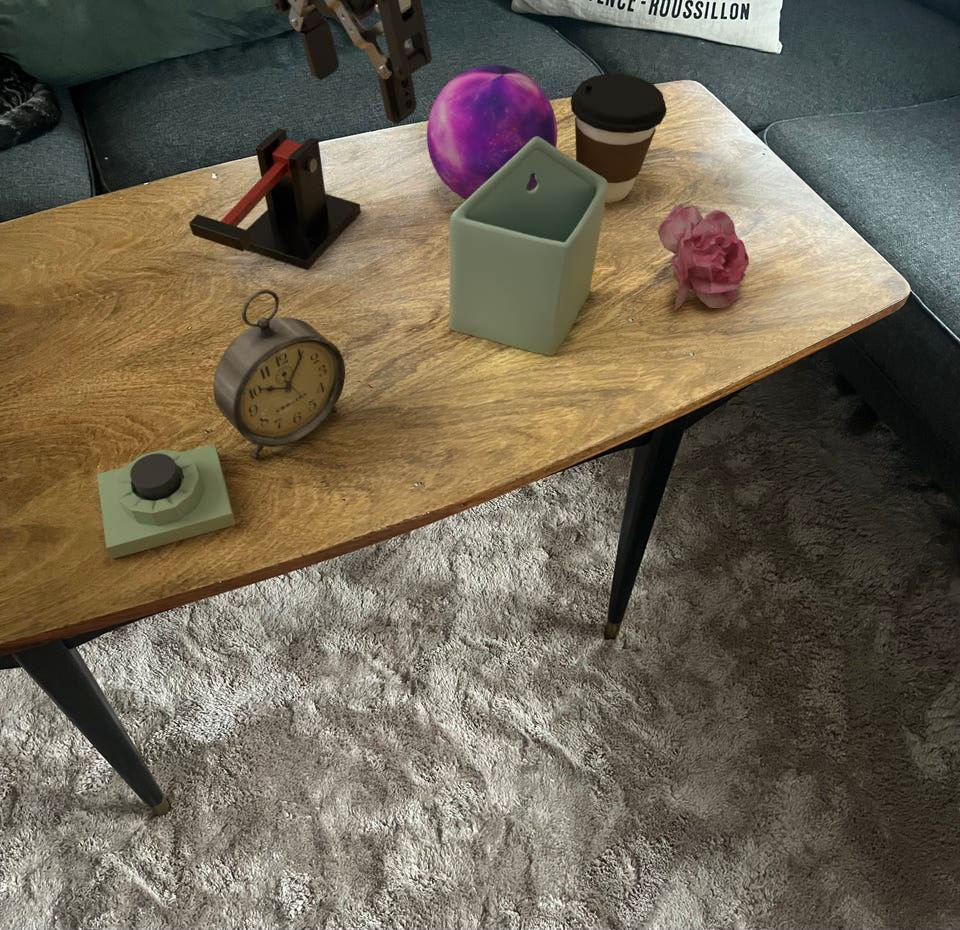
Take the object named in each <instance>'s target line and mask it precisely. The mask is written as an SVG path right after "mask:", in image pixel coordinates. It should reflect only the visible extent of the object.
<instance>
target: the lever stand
mask: <svg viewBox="0 0 960 930" xmlns="http://www.w3.org/2000/svg"><path fill="white" fill-rule="evenodd" d="M285 140H289V139H288V134H287V130H286V129H283V128H281V127H277V128H276V129H275V130H274V131H273V132H272V133H271V134H269V135H268V136H267V137H266V138H265V139H263V140H262V141H260V143H259V144H258V145H257V146H255V153H256V157H257V162H258V169H259V173H260V179H261V178H262V177H263V176H264V175H265V174H266V173H267V172H268V170H269V169H270V168H271V167H272V166H273V165H274V161H273V157H272V153H273V152H274V151H275V150H276V149H277V148H278V147H279V146H280V145H281V144H282V143H283V142H284V141H285ZM301 144H302V145H301V146H300V147H299V148H298V149H297V150H296V151H294V152H293V153H292V154H291V155H290V156H289V157H288V158H289V165H290V171H291V177H288V176H285V175H284V176H283V177H282V178H281V179H280V180H279V181H278V182H277V183H276V185H275V186H274V187H273V188H272V189H271V190H270V191H269V192H268V193H267V194H266V195H265V196H264V198H265V203H266V210H265V211H264V212H263V213H262V214H261V215H260V216H259V217H258V218H257V219H256V220H254V222H253V223H251V224H250V225H249V226H248V227H247V228H246V229H245V230H248V232H249V235H250V239H251V244H250V245H249V246H248V247H247V248H246V249H245V250H244V251H249V252H251V253H253V254H258V255H260V256H263V257H267V258H269V259H272V260H275V261H279V262H282V263H285V264H288V265H291V266H294V267H298V268H299V269H303V270H306V271H308V270H309V269H310V268H311V266H312V265H313V264H314V263H315V262H316V261H317V260H318V259H319V258H320V257H321V256H322V255H323V254H324V253H325V252H326V250H327V249H329V247H330V246H331V245H332V244H333V243H334V242H335V241H336V240H337V239H338V238H339V237H340V236H341V234H342V233H343V232H344V231H345V230H346V229H347V228H348V227H349V226H350V225H351V224H352V223H353V222H354V220H355V219H357V217H358V216H359V215H360V214H361V204H360V203H358V202H354V201H352V200H347V199H345V198H342V197H338V196H335V195H332V194H328V193H326V187H325V181H324V173H323V165H322V157H321V149H320V142H319V139H318V138H316V137H311V136H310V137H309V138H308V139H306V140H305V141H304V142H303V143H301Z"/></svg>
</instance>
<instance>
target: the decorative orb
mask: <svg viewBox="0 0 960 930" xmlns="http://www.w3.org/2000/svg"><path fill="white" fill-rule="evenodd" d="M557 124H558V123H557V119H556V114H555V111H554V108H553V106H552V103H551V101H550V100H549V97H548V96H547V94H546V93H545V91H544V90H543V89H542V87H541V86H540V85H539V84H538V83H537V82H536V81H535V80H534V79H533V78H531V77H530V76H529V75H527V74H526V73H524V72H522V71H521V70H518V69H516V68H513V67H510V66H507V65H502V64H486V65H485V64H483V65H479V66H478V65H477V66H475V67H472V68H469V69H466V70H465V71H463V72H461V73H459V74H458V75H456V76H455V77H454V78H452V79H451V80H450V81H449V82H448V83H447V84H446V85H444V87H443V89H442V90H440V92H439V94H438V95H437V97H436V99H435V101H434V102H433V105H432V106H431V110H430V113H429V117H428V122H427V127H426V143H427V151H428V154H429V158H430V161H431V164H432V166H433V168H434V171H436V173H437V175H438V177H439V178H440V179H441V181H442V182H443V183H444V184H445V186H446V187H448V189H450V190H451V191H452V192H453V193H455V194H456V195H458V196H459V197H461V198H462V199H464V200H467V199H468V198H469V197H470V196H471V195H472V194H473V193H474V192H475V191H477V190H478V189H479V188H480V187H481V186H482V185H483V184H484V183H485V182H486V181H487V180H489V179H490V178H491V177H492V176H493V175H494V174H495V173H496V172H497V171H498V170H500V169H501V168H502V167H503V166H504V165H505V164H506V163H507V162H508V161H509V160H510V159H511V158H512V157H514V156H515V155H516V154H517V153H518V152H519V151H520V150H521V149H522V148H523V147H524V146H525V145H526V144H527V143H528V142H529V141H530V140H531V139H532V138H534V137H536V136H537V137H540V138H542V139H543V140H545V141H546V142H548V143H549V144H551V145H552V146H553V147H555V148H556V149H557V146H558V145H557V144H558V125H557ZM536 186H537V181H536V179H535V173H532V174H531V176H530V181H529V183H528V184H527V186H526V190H527V191H531V190H533V189H535V187H536Z"/></svg>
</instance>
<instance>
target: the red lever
mask: <svg viewBox="0 0 960 930" xmlns="http://www.w3.org/2000/svg"><path fill="white" fill-rule="evenodd" d="M302 144H303V143H300V142H297V141H293V140H289V139H288V140H285V141H284V142H283V143H282V144H281V145H280V146H279V147H278V148H277V149H276V150H275V151H274V152H273V153H272V157H273V161H274V165H273V166H272V167H271V168H270V169H269V170H268V172H267V173H266V174H265V175H264V176H263V177H262V178H261V177H260V179H258V181H257V182H256V183H255V184H254V185H253V186H252V187H251V188H250V189H249V190H248V191H247V192H246V193H245V194H244V196H243V197H242V198H241V199H240V200H239V201H238V202H237V203H236V204H235V205H234V206H233V207H232V208H231V209H230V210H229V212H227V213H226V214H225V216H224V217H222V218H221V220H217V219H214V218H210V217H207V216H205V215H201V214H199V213H198V214H196V215H195V216H194V217H193V219H192V220H190V221H189V223H188V225H189V227H190V230H191V234H192V235H193V236H195V237H198V238H201V239H204V240H207V241H210V242H213V243H216V244H219V245H222V246H225V247H228V248H231V249H234V250H237V251H240V252H245V251H246V250H245V249H246V248H247V247H248V246H249V245H250V244H251V239H250V235H249V232H248V230H246V229H245V228H241V227H238V226H239V225H240V224H241V223H242V221H244V219H245V218H246V217H247V216H248V215H249V214H250V213H251V212H252V211H253V210H254V209H255V208H256V207H257V205H258V204H259V203H260V202H261V201H262V200H263V199H264V198H265V195H266V194H267V193H268V192H269V191H270V190H271V189H272V188H273V187H274V186H275V185H276V183H277V182H278V181H279V180H280V179H281V178H282V177H283V176H284V175H285V176H288V177H291V171H290V165H289V158H288V157H289V156H290V155H291V154H292V153H293V152H294V151H296V150H297V149H298V148H299V147H300V146H301V145H302Z"/></svg>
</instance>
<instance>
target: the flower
mask: <svg viewBox="0 0 960 930" xmlns="http://www.w3.org/2000/svg"><path fill="white" fill-rule="evenodd" d="M657 234H658V237H659V241H660V242H661V244H662V247H663V248H664V249H666V250H667V251H669V252H671V254H674V255H673V256H672V257H671V258H670V259H669V260H668V261H667V262H664V263H663V265H666V264H670V265H671V267H672V270H673V276H674V278H675V281H676V282H677V283H678V289H677V290H676V292H675V295H676V296H675V297H676V299H675V302H674V305H673V310H674V311H675V312H676V311H677V310H678V309H679V308H680V306H682V304H683V303H684V302H685V300H686V298H687V297H688V295H689V293H690V292H691V290H693V292H694V294H695V295H696V296H697V298H698V299H699V300H700V301H701V302H702V303H704V304H705V305H706V306H707V307H708V308H712V309H724V308H727V307H729V306H730V304H731V303H733V302H735V301H736V300H738V299H739V297H740V292H739V290H738V289H739V287H740V285H741V282H742V281H743V280H744V278H745V277H746V271H747V270H748V269H747V268H748V266H749V265H750V263H749V260H750V258H749V255H748V253H747V249H746V246H745V243H744V242H743V240H742V239H740V238H738V235H737V233H736V227H735V223H734V221H733V219H731V216H729V215H728V214H727V212H725V211H722V210H719V209H714V210H712V211H710V212H709V213H707V214H706V215H705V216H704V217H703V215H702V214H701V212H700V210H699V208H698V206H695V205H690V206H683V203H680V204H677V205H674V206H673V208H672V209H671V211H670V212H669V213H668V214H667V216H665V218H664V219H663V221H662V222H661V223H660V225H659V227H658V229H657ZM660 265H662V263H661V264H660V263H659V266H660ZM656 266H657V264H653V265H650V267H656Z"/></svg>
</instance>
